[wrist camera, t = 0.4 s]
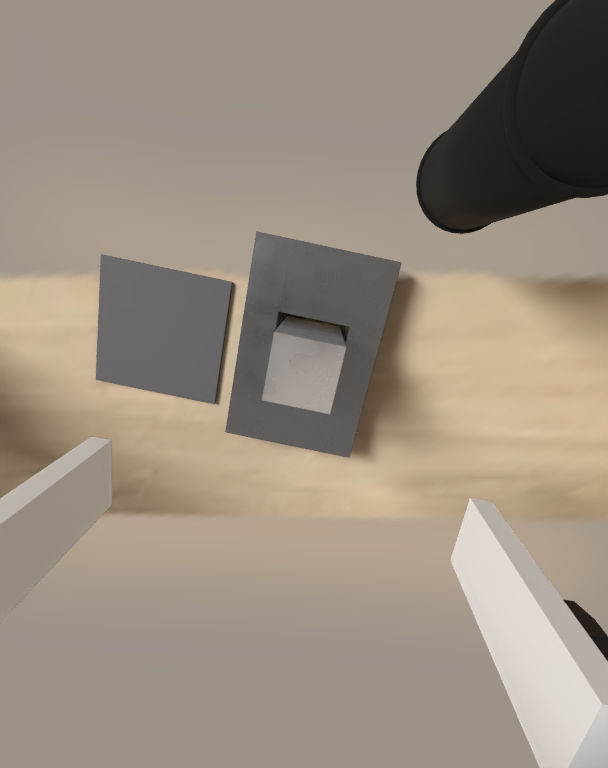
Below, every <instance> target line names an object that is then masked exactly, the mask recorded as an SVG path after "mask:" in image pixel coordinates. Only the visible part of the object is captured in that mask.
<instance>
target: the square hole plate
mask: <svg viewBox="0 0 608 768" xmlns="http://www.w3.org/2000/svg"><path fill="white" fill-rule="evenodd" d="M400 267H401V262H396V261H391V260H387V259H382V258H377V257H373V256H369V255H364V254H359V253H354V252H350V251H345V250H341V249H335V248H331V247H327V246H322V245H317V244H313V243H308V242H304V241H298V240H294V239H290V238H285V237H280V236H275V235H270V234H266V233H261V232H256V238H255V244H254V251H253V258H252V264H251V270H250V276H249V283H248V289H247V296H246V302H245V309H244V315H243V322H242V328H241V335H240V341H239V348H238V354H237V361H236V367H235V373H234V380H233V386H232V393H231V399H230V406H229V412H228V419H227V425H226V432H227V433H232V434H237V435H241V436H246V437H251V438H256V439H261V440H266V441H271V442H275V443H280V444H285V445H290V446H295V447H300V448H305V449H310V450H314V451H319V452H324V453H329V454H334V455H339V456H344V457H348V458H349V457H350V453H351V449H352V446H353V442H354V438H355V435H356V431H357V427H358V423H359V420H360V416H361V412H362V408H363V405H364V401H365V397H366V393H367V390H368V386H369V382H370V379H371V375H372V371H373V367H374V364H375V360H376V356H377V352H378V349H379V345H380V341H381V337H382V334H383V330H384V326H385V323H386V319H387V315H388V311H389V308H390V304H391V300H392V296H393V293H394V289H395V285H396V281H397V278H398V274H399V270H400ZM281 312H283V313H288V314H292V315H297V316H302V317H307V318H311V319H316V320H321V321H326V322H330V323H335V324H340V325H344V326H346V329H345V333H344V337H343V339H344V342H345V345H346V350H345V355H344V359H343V363H342V367H341V371H340V375H339V379H338V384H337V388H336V392H335V396H334V400H333V404H332V408H331V413H330V414H326V413H321V412H316V411H312V410H307V409H302V408H297V407H292V406H288V405H283V404H278V403H273V402H268V401H264V400H262V397H263V391H264V386H265V380H266V374H267V369H268V363H269V358H270V352H271V347H272V341H273V336H274V332H275V330H276V329H277V328H278V327H279V322H280V317H281Z"/></svg>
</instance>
